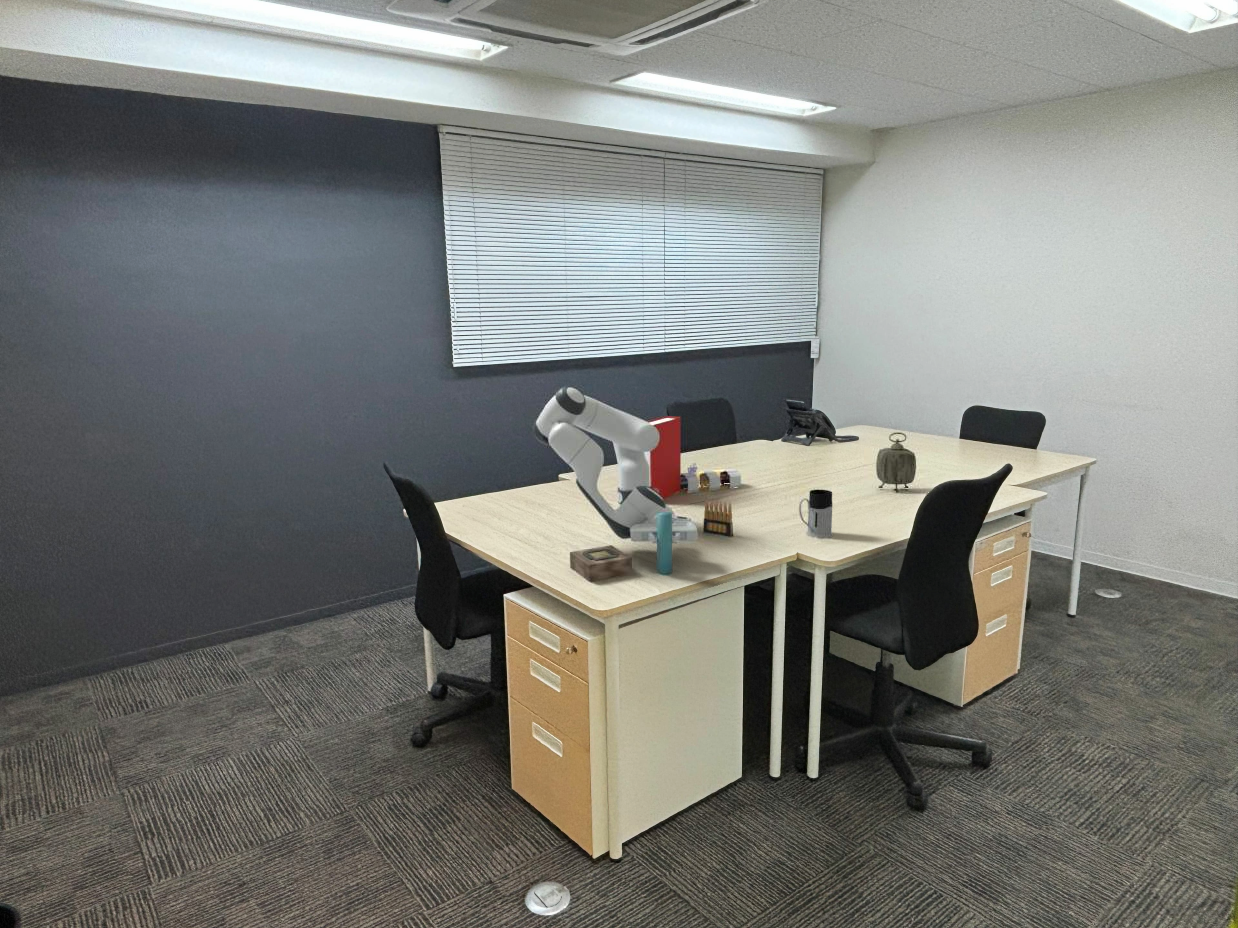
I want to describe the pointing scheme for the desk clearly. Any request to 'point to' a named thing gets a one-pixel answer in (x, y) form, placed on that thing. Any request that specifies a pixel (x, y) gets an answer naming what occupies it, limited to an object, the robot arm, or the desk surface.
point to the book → (666, 456)
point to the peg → (664, 543)
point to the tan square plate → (600, 554)
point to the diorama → (709, 479)
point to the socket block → (601, 563)
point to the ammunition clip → (718, 519)
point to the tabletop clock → (896, 464)
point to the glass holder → (819, 513)
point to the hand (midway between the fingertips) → (664, 540)
